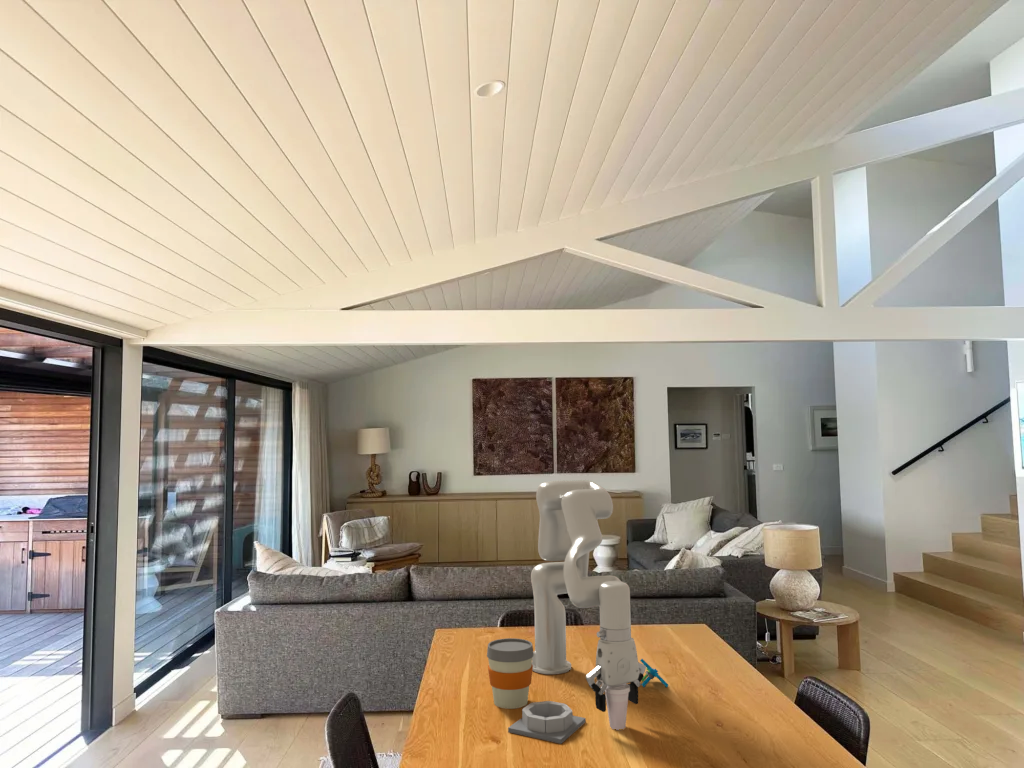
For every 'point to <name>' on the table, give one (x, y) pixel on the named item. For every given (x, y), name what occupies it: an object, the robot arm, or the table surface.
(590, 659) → the table surface
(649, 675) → the gear
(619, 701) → the smoothie
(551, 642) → the robot arm
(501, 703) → the reusable coffee cup
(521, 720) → the bottle socket
